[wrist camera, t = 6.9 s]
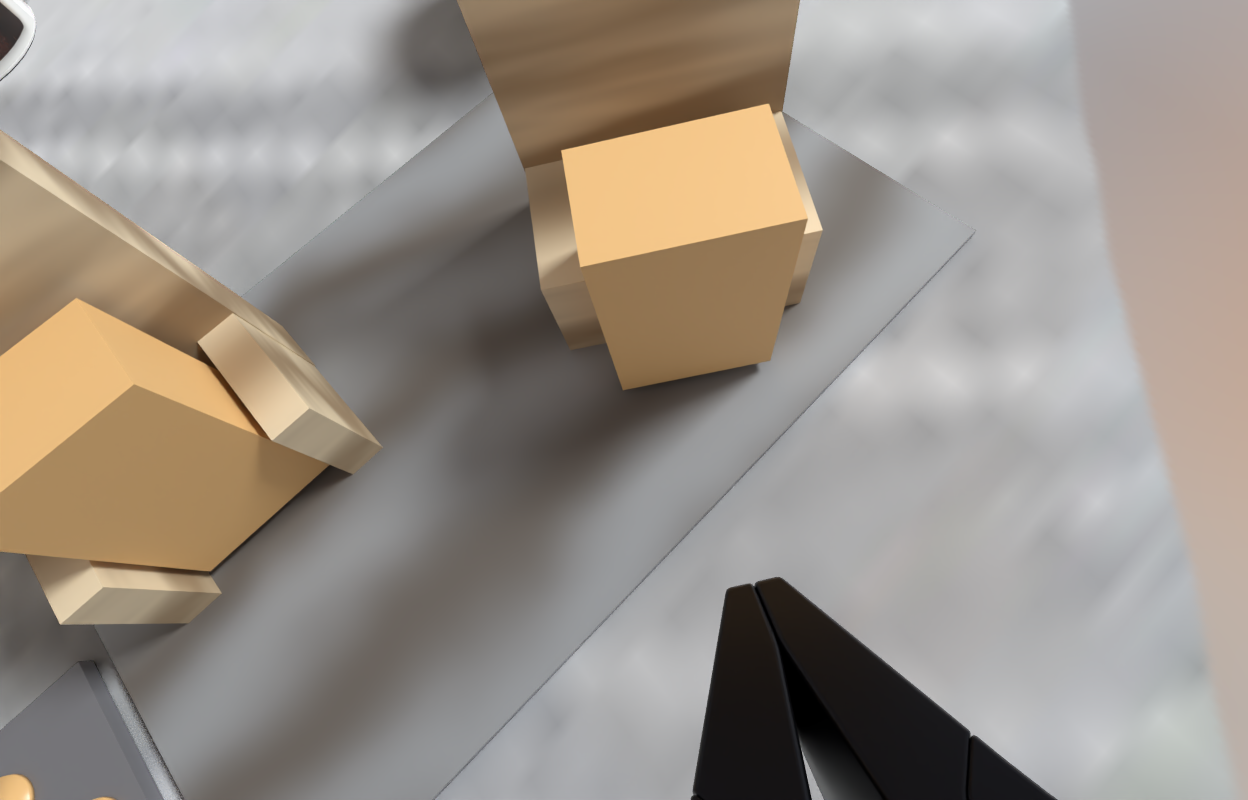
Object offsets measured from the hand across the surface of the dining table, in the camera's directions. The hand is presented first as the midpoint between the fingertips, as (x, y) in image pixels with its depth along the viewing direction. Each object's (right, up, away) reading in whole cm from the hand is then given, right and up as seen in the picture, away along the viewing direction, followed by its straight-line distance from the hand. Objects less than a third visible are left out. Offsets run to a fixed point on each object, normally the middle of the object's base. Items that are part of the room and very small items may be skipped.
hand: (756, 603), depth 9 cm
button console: (-8, +4, +17) cm, 19 cm away
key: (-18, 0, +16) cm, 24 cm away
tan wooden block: (+1, +6, +16) cm, 17 cm away
